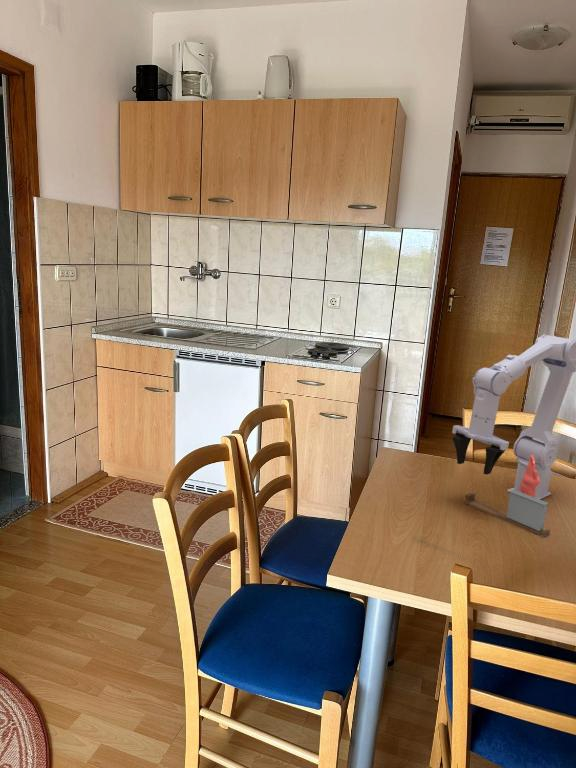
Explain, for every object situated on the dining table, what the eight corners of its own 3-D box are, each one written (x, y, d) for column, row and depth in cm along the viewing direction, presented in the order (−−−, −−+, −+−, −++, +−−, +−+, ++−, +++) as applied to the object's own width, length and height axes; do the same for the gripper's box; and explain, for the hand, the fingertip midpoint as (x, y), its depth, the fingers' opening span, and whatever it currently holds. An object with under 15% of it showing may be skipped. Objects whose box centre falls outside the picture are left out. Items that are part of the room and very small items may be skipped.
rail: (471, 500, 145) (472, 492, 144) (549, 534, 129) (551, 525, 128) (464, 503, 143) (465, 494, 142) (543, 537, 127) (544, 528, 126)
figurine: (537, 516, 138) (546, 460, 134) (515, 513, 139) (524, 458, 135) (532, 507, 143) (541, 453, 139) (511, 505, 144) (520, 451, 140)
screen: (509, 515, 136) (513, 489, 134) (543, 529, 129) (548, 503, 128) (505, 517, 134) (509, 491, 133) (539, 531, 128) (544, 505, 126)
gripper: (449, 409, 138) (440, 460, 140) (501, 426, 127) (490, 480, 129) (465, 408, 142) (456, 457, 145) (517, 423, 131) (506, 476, 134)
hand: (473, 468), depth 137 cm, fingers open, 7 cm apart
